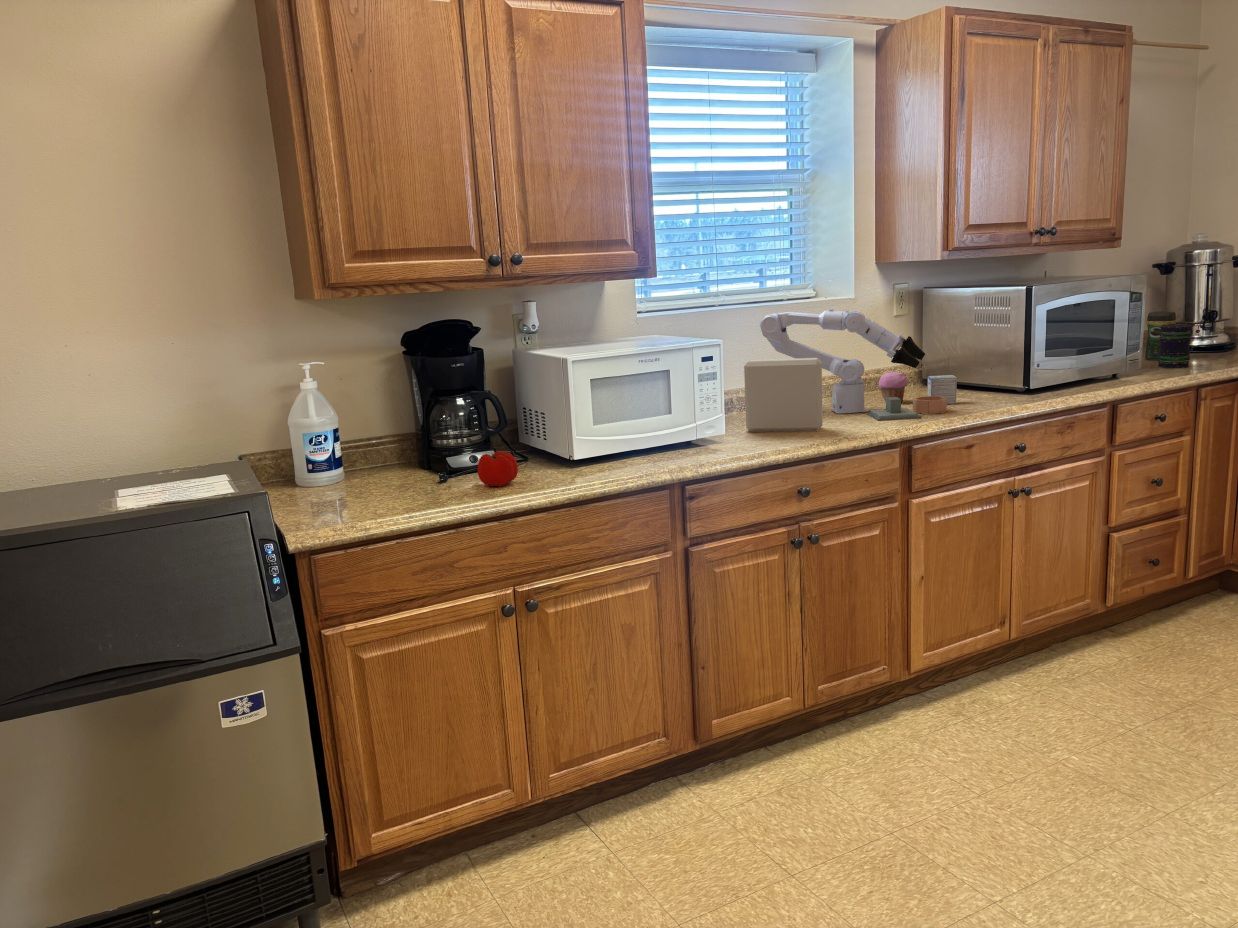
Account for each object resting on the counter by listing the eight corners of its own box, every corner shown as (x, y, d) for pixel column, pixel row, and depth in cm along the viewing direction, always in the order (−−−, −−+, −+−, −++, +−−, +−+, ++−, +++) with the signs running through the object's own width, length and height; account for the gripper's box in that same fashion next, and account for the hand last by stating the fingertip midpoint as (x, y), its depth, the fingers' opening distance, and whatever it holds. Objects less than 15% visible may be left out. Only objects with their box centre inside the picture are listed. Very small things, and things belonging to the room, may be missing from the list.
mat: (877, 420, 260) (877, 419, 260) (866, 414, 273) (866, 412, 272) (921, 418, 260) (920, 416, 260) (908, 411, 272) (908, 410, 272)
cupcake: (913, 402, 288) (913, 371, 286) (892, 405, 285) (892, 374, 283) (893, 399, 296) (893, 369, 294) (872, 402, 293) (872, 372, 291)
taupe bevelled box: (823, 426, 257) (822, 356, 253) (821, 431, 250) (820, 359, 245) (749, 427, 263) (747, 359, 259) (745, 432, 256) (743, 362, 252)
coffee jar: (1177, 358, 349) (1180, 310, 346) (1167, 361, 345) (1170, 312, 341) (1151, 357, 357) (1153, 310, 353) (1141, 360, 353) (1143, 312, 349)
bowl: (919, 414, 266) (919, 401, 265) (910, 410, 274) (910, 397, 274) (949, 412, 265) (950, 399, 265) (939, 408, 274) (939, 395, 273)
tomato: (479, 490, 206) (476, 458, 205) (479, 482, 215) (476, 451, 213) (520, 486, 208) (517, 455, 206) (518, 478, 216) (515, 448, 215)
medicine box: (952, 402, 284) (953, 374, 282) (956, 404, 280) (957, 376, 278) (927, 403, 285) (927, 376, 283) (930, 405, 281) (930, 377, 279)
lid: (879, 418, 261) (879, 402, 260) (869, 412, 272) (869, 397, 271) (917, 416, 261) (917, 399, 260) (906, 410, 271) (906, 394, 270)
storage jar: (1163, 364, 336) (1166, 324, 333) (1193, 365, 328) (1196, 324, 325) (1153, 367, 330) (1155, 326, 326) (1182, 369, 322) (1185, 327, 319)
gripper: (881, 333, 263) (922, 358, 260) (893, 319, 274) (933, 342, 272) (869, 353, 267) (909, 377, 264) (882, 338, 279) (920, 361, 276)
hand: (920, 361), depth 268 cm, fingers open, 7 cm apart
